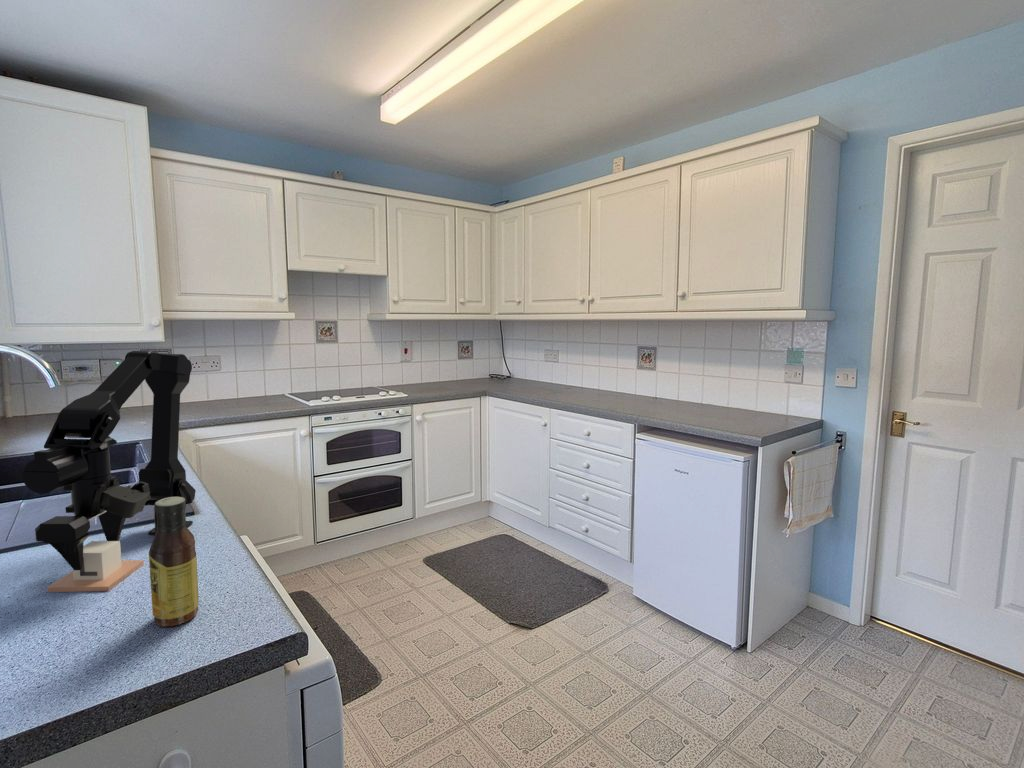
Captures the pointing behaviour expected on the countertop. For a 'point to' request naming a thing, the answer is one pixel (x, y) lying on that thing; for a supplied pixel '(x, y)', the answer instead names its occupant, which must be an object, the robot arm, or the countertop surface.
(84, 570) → the cream letter cube
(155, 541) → the sauce bottle
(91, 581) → the terracotta tile
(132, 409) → the countertop surface
